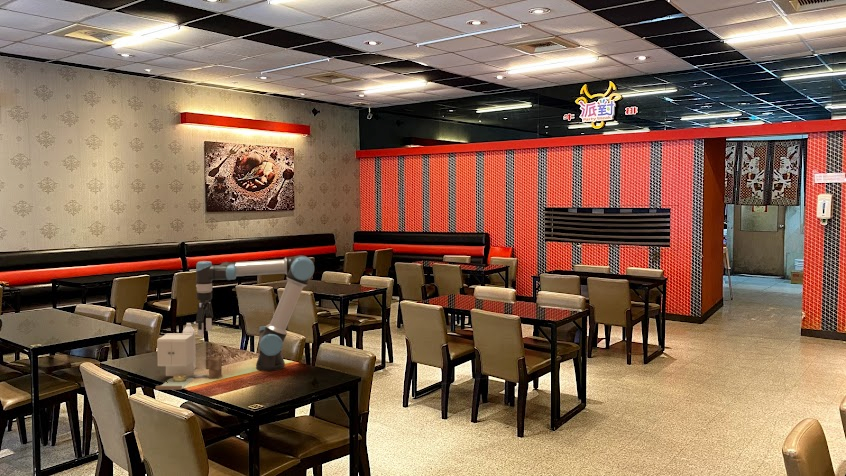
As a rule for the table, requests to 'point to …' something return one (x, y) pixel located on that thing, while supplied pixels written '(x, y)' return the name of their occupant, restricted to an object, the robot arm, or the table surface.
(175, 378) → the brass puck
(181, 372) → the wall cabinet
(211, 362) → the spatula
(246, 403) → the table surface
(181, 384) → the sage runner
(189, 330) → the water bottle
